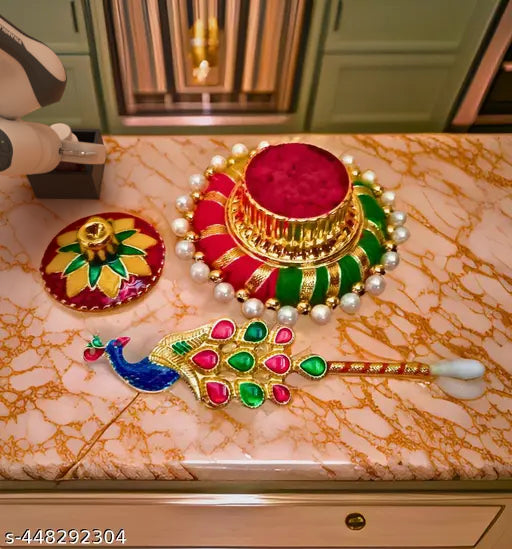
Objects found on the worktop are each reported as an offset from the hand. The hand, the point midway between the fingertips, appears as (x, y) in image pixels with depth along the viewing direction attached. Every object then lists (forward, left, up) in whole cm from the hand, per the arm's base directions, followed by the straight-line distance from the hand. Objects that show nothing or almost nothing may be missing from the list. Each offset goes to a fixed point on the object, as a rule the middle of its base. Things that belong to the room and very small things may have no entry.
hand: (65, 148), depth 115 cm
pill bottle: (0, -1, -6) cm, 6 cm away
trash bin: (0, -1, -7) cm, 7 cm away
